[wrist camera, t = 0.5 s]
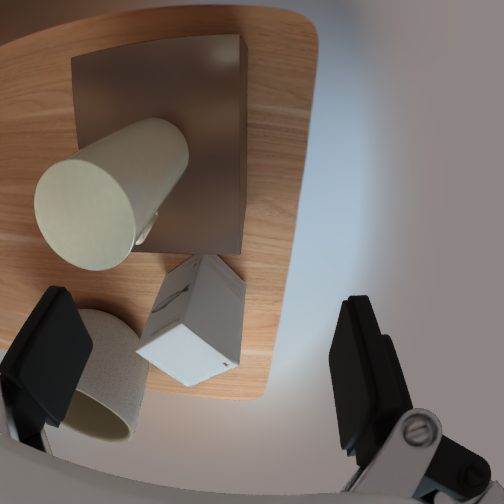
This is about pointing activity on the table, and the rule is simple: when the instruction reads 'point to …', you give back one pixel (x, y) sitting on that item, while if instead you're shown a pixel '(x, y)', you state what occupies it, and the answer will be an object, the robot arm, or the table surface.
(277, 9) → the table surface
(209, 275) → the white packaging box
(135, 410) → the planter
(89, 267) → the cream mug
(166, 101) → the brown lidded box
